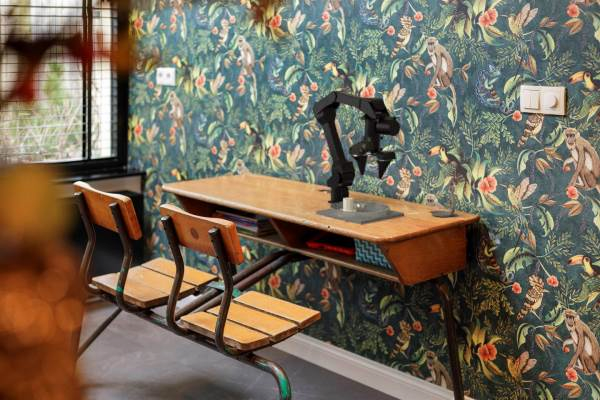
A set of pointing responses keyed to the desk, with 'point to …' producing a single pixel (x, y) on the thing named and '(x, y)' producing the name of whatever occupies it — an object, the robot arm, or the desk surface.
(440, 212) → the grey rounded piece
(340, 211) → the grey flat ring
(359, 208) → the sun gear
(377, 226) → the desk surface
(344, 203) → the gear
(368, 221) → the tray
